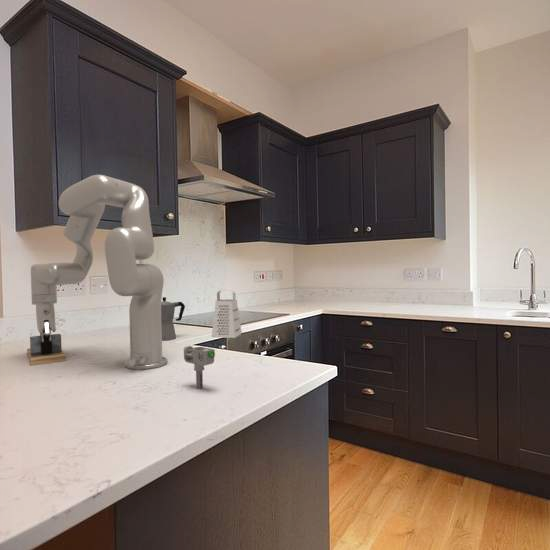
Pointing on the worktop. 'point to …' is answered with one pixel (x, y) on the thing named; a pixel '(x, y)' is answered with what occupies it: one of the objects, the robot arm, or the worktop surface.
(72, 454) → the worktop surface
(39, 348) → the sanding block
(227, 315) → the grater
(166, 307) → the coffeepot
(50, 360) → the pine board
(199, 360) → the mechanical component
